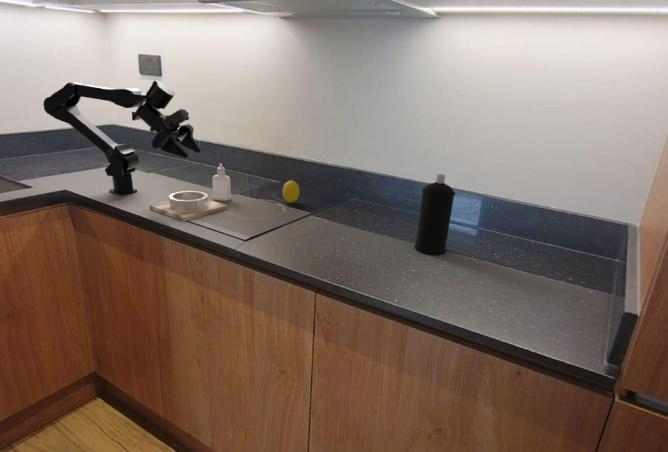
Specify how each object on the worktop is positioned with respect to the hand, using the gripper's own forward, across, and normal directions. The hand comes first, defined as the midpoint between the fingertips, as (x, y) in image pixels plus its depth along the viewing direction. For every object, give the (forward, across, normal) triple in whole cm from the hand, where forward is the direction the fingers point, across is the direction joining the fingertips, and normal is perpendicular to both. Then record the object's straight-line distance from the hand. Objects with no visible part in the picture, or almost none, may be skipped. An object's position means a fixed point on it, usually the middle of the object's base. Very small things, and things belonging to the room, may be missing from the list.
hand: (194, 154), depth 136 cm
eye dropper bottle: (+16, +2, +6) cm, 17 cm away
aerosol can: (+67, -24, -36) cm, 80 cm away
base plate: (+11, -11, +10) cm, 19 cm away
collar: (+11, -11, +9) cm, 18 cm away
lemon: (+33, +5, -8) cm, 35 cm away
